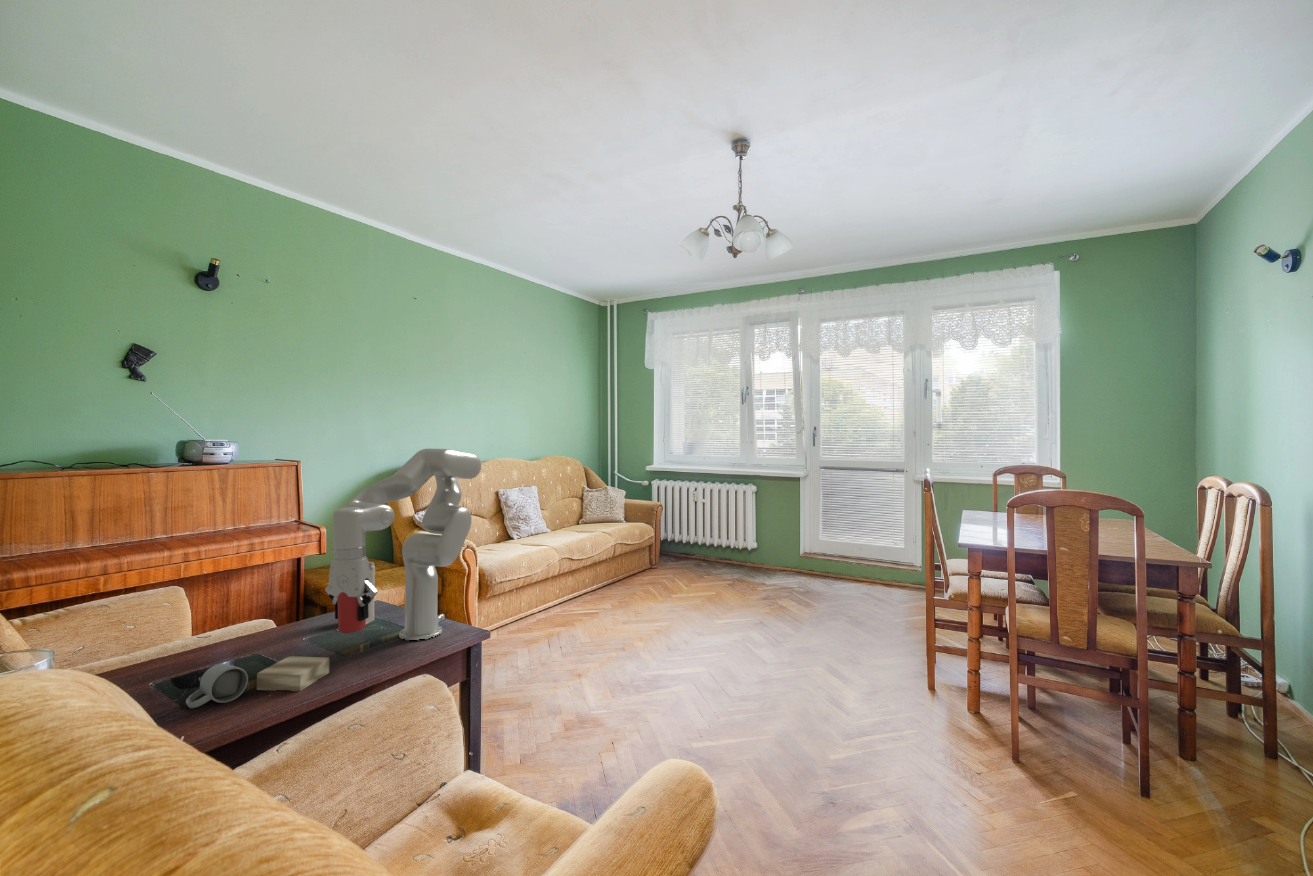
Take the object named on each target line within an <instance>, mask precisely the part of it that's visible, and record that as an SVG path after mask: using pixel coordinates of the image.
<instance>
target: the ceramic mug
mask: <svg viewBox="0 0 1313 876" xmlns="http://www.w3.org/2000/svg"><path fill="white" fill-rule="evenodd" d="M248 682H249V676H248V673H247V672H246V670H245V669H244V668H242V667H238V666H235V665H233V664H231V663H230V664H229V663H220V664H216V665H213V666H211V667H210V668H208V669H207V670H205V672H204V673H203V674H202V676H201V678H200V681H199V688H198V689H196V691H194V692H193V693H191V694H190V695H189V696H188V697H187V698H186V700H185V704H186V706H187V707H188V708H189V709H194V708H195V709H196V708H198V707H201V706H203V705H204V704H206V703H208V702H209V701H213V702H216V703H218V704H219V703H220V704H225V703H229V702H232V701H234V700H236V699H238V698H239V697H240V696H241V695H242V694H243V693H244V692H245V691H246V689H247V686H248V684H249V683H248ZM203 694H204V696H202V695H203ZM201 696H202V697H201ZM199 697H200V698H199Z"/></svg>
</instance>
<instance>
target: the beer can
mask: <svg viewBox="0 0 1313 876" xmlns="http://www.w3.org/2000/svg"><path fill="white" fill-rule="evenodd" d="M343 590H344V589H343ZM362 598H363V600H364V597H363V596H362ZM337 603H338V619H337V627H338V628H337V629H338V630H339V631H338V632H339V633H341V634H354V633H357V632H360V631H362V630H364V629H365V627H366V625H367V624H366V619H364V620H362V621H358V606H360V605H359V602H358V600H357V598H351V597H348V595H347V594H346V593H344V592H341V593H340V594H339V596H337Z"/></svg>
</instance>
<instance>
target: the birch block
mask: <svg viewBox="0 0 1313 876" xmlns="http://www.w3.org/2000/svg"><path fill="white" fill-rule="evenodd" d="M329 673H330V657H325V656H320V657H319V656H298V655H297V656H296V655H295V656H294V655H292V656H291V655H290V656H289V655H288V656H286V657H285V658H283V659H281V660H280V661H277V662H275V663H274V664H272V665H270V666H269V667H266V668H264V669H262V670H260V671H259V672H257V673H256V690H257V691H276V690H291V691H290V692H302V691H304V690H305V689H306V688H307V687H309V686H311V685H312V684H314V683H315V682H317V681H318V679H319V680H320V679H322V678H323V677H325V676H327V675H328V674H329Z"/></svg>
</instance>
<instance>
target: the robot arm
mask: <svg viewBox="0 0 1313 876" xmlns="http://www.w3.org/2000/svg"><path fill="white" fill-rule="evenodd" d="M481 470H482V462H481V459H480V458H479V456H477V455H476V454H474V453H472V452H471V453H470V452H465V451H461V450H460V451H459V450H455V449H449V448H423V449H420V450H418V451H417V452H416V453H414V454H413V456H411V457H410V458H409V459H408V460H407V461H406V462H405V463H404V464H403V465H402V466H401V467H400V468H399V469H397V471H395V472H394V474H392V475H390V476H388V477H385V478H384V479H381V480H379V481H378V482H376V483H373V484H372V485H369V486H368V487H365V488H364V489H363V490H361V491H360V492H358V494H357V495H355V496H354V497H353V498H352V499H351V500H350V501H349V502H348V504H347V505H346V506H345V507H341V508H337V509H336V510H334V512H333V514H332V526H333V531H332V532H333V533H332V534H333V548H332V550H331V553H332V554H333V558H332V559H331V562H330V567H329V572H328V573H329V575H328V584H327V586H326V587H325V589H324V590H325V592H326V593H327V595H328V597H329V598H330V600H331V602H332V605H334V619H335V620H338V603H337V596H339V594H340V593H341V592H344V593H346V594H347V595H348V597H351V598H357V600H358V602H359V605H360V606H358V621H362V620H364V619H366V618H368V617H369V612H368V604H369V603H370V602H371V600H372V599H373V598H374V599H375V597H376V595H377V594H378V593H379V592H378V590H377V588H376V587H375V588H374V586H373V585H372V584H371V575H370V568H369V563H368V561H369V560H368V559H369V558H368V557H367V556H366V554H367V553H366V549H367V548H366V532H374V531H375V532H377V531H382V530H385V529H387V528H389V527H390V526H391V525H392V524H393V522H394V521H395V517H396V516H395V515H396V514H395V512H394V509H393V508H392V507H391V506H390V505H388V503H390V502H394V501H400V500H403V499H406V498H408V497H412V496H414V495H415V494H416V493H417V492H418V491H420V489H421V488H422V487H423V486H424V485H425V484H426V483H427V482H428V481H429V480H430V479H431V478H432V477H433V476H434V478H435V483H436V489H435V492H434V494H433V497H432V498H431V501H430V502H429V504H428V507H427V509H426V511H425V512H424V515H423V517H422V520H421V526H422V529H423V530H424V531H425V532H428V533H416V534H412V535H410V536H408V537H407V538H406V540H405V541H404V542H403V545H402V546H401V547H402V549H401V550H402V551H401V552H402V553H401V554H402V559H403V564H404V573H405V574H404V576H405V577H404V578H405V580H404V582H405V583H404V584H405V586H404V588H405V589H404V591H405V592H404V628H403V629H402V630H400V631H399V632H398V634H399V635H398V636H399V638H400V639H402V640H403V639H405V640H404V641H409V640H417V641H420V640H419V639H425V640H429V638H430V639H432V638H431V637H433V638H436V637H438V636H440V635H441V634H442V633H443V627H442V626H441V625H439V622H441V621H443V620H445V616H446V615H445V614H443V613H440V614H438V606H439V605H438V604H439V603H438V594H439V591H438V590H439V576H438V572H437V568H436V567H441V568H442V567H449V566H451V565H452V564H453V563H454V562H455V561H456V559H457V558H458V556H459V554H460V552H461V550H462V547H463V546H464V543H465V541H466V539H467V537H468V534H469V532H470V530H471V527H472V514H471V512H470V510H469V509H468V508H467V507H465V506H463V505H460V502H461V500H462V489H461V487H460V484H459V482H458V480H457V479H462V480H463V479H464V480H471V479H474V478H477V476H479V474H480V472H481ZM343 589H344V590H343ZM367 593H369V595H368V594H367ZM362 596H363V597H364V600H363V598H362ZM441 619H442V620H441ZM439 634H440V635H439ZM437 635H438V636H437ZM435 636H436V637H435Z"/></svg>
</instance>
